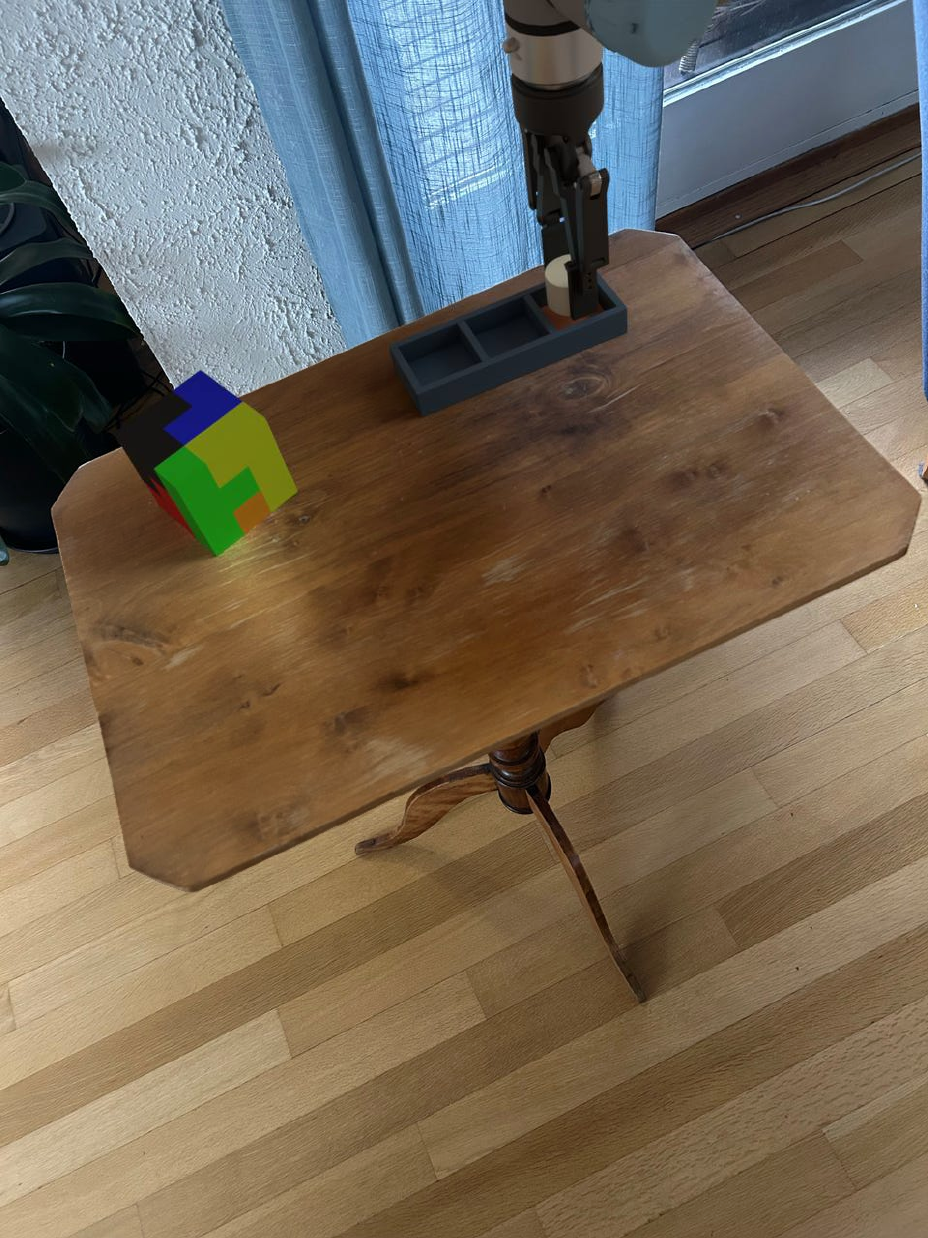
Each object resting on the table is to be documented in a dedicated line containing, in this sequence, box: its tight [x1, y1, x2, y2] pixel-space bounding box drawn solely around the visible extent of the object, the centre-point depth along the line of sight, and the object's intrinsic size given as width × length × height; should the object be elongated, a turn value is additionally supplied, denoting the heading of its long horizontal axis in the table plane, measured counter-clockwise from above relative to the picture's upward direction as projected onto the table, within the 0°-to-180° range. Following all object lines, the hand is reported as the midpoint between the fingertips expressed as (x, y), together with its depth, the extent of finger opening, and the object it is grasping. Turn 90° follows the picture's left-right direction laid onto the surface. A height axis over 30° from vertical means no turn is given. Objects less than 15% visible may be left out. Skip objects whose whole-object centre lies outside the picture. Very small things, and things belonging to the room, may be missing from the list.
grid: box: [388, 271, 629, 418], centre depth 100 cm, size 8×23×3 cm, turn 113°
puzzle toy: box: [112, 369, 299, 557], centre depth 92 cm, size 10×10×10 cm
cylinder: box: [544, 254, 571, 316], centre depth 98 cm, size 5×5×4 cm
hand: (571, 296), depth 99 cm, fingers closed on cylinder, 5 cm apart
